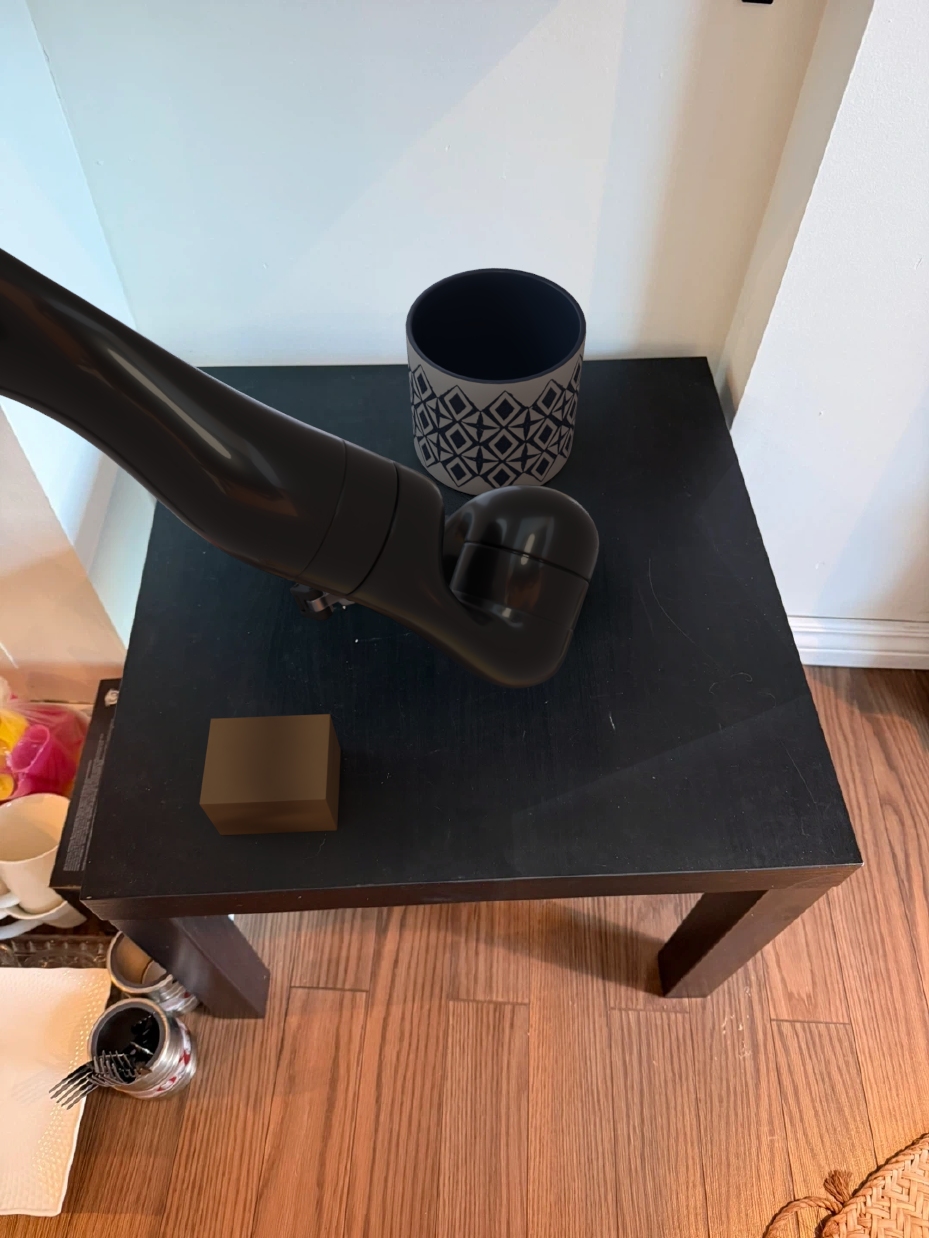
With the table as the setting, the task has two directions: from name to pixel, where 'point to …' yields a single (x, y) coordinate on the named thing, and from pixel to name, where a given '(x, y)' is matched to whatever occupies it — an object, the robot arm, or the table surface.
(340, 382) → the table surface
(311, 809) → the brown rectangular block
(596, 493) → the table surface
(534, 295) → the planter
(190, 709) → the table surface
